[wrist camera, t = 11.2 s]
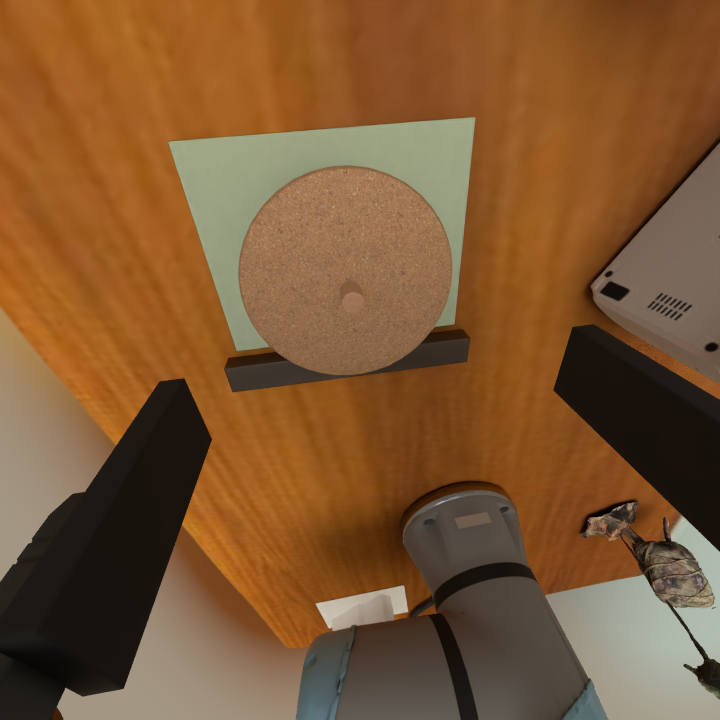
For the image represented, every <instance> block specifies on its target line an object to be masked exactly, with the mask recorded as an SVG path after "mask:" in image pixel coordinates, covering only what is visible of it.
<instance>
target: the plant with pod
mask: <svg viewBox="0 0 720 720" xmlns="http://www.w3.org/2000/svg"><path fill="white" fill-rule="evenodd" d="M638 504H639V502H633V503H631V504H630V503H628V504H626V505H623V506H621V507H620V506H619V507H618V508H617V507H616V508H615V509H613V510H612V511H611V513H609V514H605V515H603V516H602V517H594V518H593V517H591V518H590V519H589V520H588V521H587V522H590V523H588V524H587V525H588V528H587V529H586V531H587V532H585V534H584V535H582V537H584V538H586V537H588V536H591V535H599V536H603V537H606V538H607V540H608V541H611V540H612V541H613V540H616V539H617V538H620V537H621V538H622V536H624V535H626V537H627V538H628V540H629V541H630V543H631V545H632V547H633V550H634V552H633V551H632V549H631V548H630V547H629V546H628V544H627V543H626V542H625V541H624V540H623V538H622V540H623V542H624V543H625V544H626V546H627V547H628V549H629V550H630V551H631V552H632V554H633V556H634V557H635V559H636V560H637V562H638V565H639V567H640V569H641V571H642V572H643V574H644V575H645V577H646V578H647V580H648V582H649V584H650V586H651V587H652V589H653V591H654V592H655V594H656V596H657V597H658V598H659V599H660V600H661V601H662V602H664V603H666V604H668V606H669V607H670V608H671V610H672V611H673V613H674V614H675V615H676V617H677V618H678V620H679V621H680V623H681V624H682V625H683V626H684V628H685V629H686V631H687V632H688V634H689V636H690V638H691V640H692V641H693V642H694V644H695V646H696V648H697V649H698V651H699V652H700V654H701V655H702V657H703V659H704V664H702V665H701V666H697V667H698V668H697V669H695V668H692V667H691V666H689V665H687V664H684V667H685V668H687V669H689V670H690V671H691V672H692V673H694V674H695V675H696V676H697V677H698V681H699V682H700V683H701V685H702V686H704V687H705V689H706V690H708V691H709V692H711V693H713V694H714V695H715V696H716V697H717V698H718V699H720V663H718V662H716V661H715V660H714V659H709V658H708V656H707V654H706V653H705V651H704V649H703V648H702V647H701V646H700V645H699V643H698V642H697V641H696V640H695V639H694V638H693V636H692V634H691V633H690V631H689V629H688V627H687V626H686V624H685V623H684V621H683V620H682V619H681V617H680V616H679V615H678V613H677V612H676V611H675V609H674V608H673V606H674V607H676V608H677V607H681V608H682V607H696V608H697V607H699V608H708V607H710V606H712V605H713V604H714V599H715V597H714V595H713V593H712V589H711V587H710V585H709V583H708V580H707V579H706V578H705V576H704V575H703V573H702V569H701V568H700V567H699V565H698V562H697V561H696V559H695V558H694V556H693V554H692V553H691V552H690V551H689V550H688V549H686V548H685V547H684V546H682V545H680V544H677V543H676V542H673V541H672V542H671V536H670V533H669V530H668V520H667V518H666V517H664V519H663V525H664V528H663V530H664V535H665V540H666V541H659V542H655V541H649V542H645V541H644V540H643V539H642V538H641V537H639V536H638V535H637V534H636V533H635V532H634V531H633V530H632V529H631V528H630V527H631V523H632V522H635V518H636V517H635V511H636V509H637V507H636V506H637V505H638ZM634 553H635V555H634ZM714 608H716V607H713V608H712V609H714Z"/></svg>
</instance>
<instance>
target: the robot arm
mask: <svg viewBox="0 0 720 720" xmlns="http://www.w3.org/2000/svg"><path fill="white" fill-rule="evenodd" d="M554 391H555V392H556V393H557V394H558V395H559V396H560V397H561V398H562V399H563V400H564V401H565V402H566V403H567V404H568V405H569V406H570V407H571V408H572V409H573V410H574V411H575V412H576V413H577V414H578V415H579V416H580V417H582V418H583V419H584V420H585V421H586V422H587V423H588V424H589V425H590V426H591V427H592V428H593V429H594V430H595V431H596V432H597V433H598V434H599V435H600V436H601V437H602V438H603V439H604V440H605V441H606V442H607V443H608V444H609V445H610V446H611V447H612V448H613V449H614V450H616V451H617V452H618V453H619V454H620V455H621V456H622V457H623V458H624V459H625V460H626V461H627V462H628V463H629V464H630V465H631V466H632V467H633V468H634V469H635V470H636V471H637V472H638V473H639V474H640V475H641V476H642V477H643V478H644V479H645V480H646V481H647V482H648V483H649V484H651V485H652V486H653V487H654V488H655V489H656V490H657V491H658V492H659V493H660V494H661V495H662V496H663V497H664V498H665V499H666V500H667V501H668V502H669V503H670V504H671V505H672V506H673V507H674V508H675V509H676V510H677V511H678V512H679V513H680V514H681V515H682V516H683V517H685V518H686V519H687V520H688V521H689V522H690V523H691V524H692V525H693V526H694V527H695V528H696V529H697V530H698V531H699V532H700V533H701V534H702V535H703V536H704V537H705V538H706V539H707V540H708V541H709V542H710V543H711V544H712V545H713V546H714V547H716V549H718V550H719V551H720V399H717V398H716V397H714V396H712V395H711V394H709V393H707V392H706V391H704V390H702V389H701V388H699V387H697V386H696V385H694V384H692V383H691V382H689V381H687V380H686V379H684V378H682V377H681V376H679V375H677V374H676V373H674V372H672V371H671V370H669V369H667V368H666V367H664V366H662V365H660V364H659V363H657V362H655V361H654V360H652V359H650V358H649V357H647V356H645V355H644V354H642V353H640V352H639V351H637V350H635V349H634V348H632V347H630V346H629V345H627V344H625V343H624V342H622V341H620V340H619V339H617V338H615V337H614V336H612V335H610V334H609V333H607V332H605V331H604V330H602V329H600V328H599V327H597V326H595V325H594V324H593V325H585V326H578V327H572V331H571V334H570V337H569V341H568V344H567V347H566V350H565V354H564V357H563V360H562V363H561V367H560V370H559V373H558V377H557V380H556V383H555V386H554ZM211 441H212V438H211V436H210V434H209V432H208V430H207V427H206V425H205V423H204V421H203V419H202V416H201V414H200V412H199V410H198V407H197V405H196V403H195V401H194V399H193V396H192V394H191V392H190V390H189V388H188V385H187V383H186V381H185V379H184V378H183V379H175V380H168V381H160V382H159V383H158V385H157V386H156V388H155V389H154V391H153V392H152V394H151V395H150V397H149V398H148V400H147V401H146V403H145V404H144V406H143V407H142V408H141V410H140V411H139V413H138V414H137V416H136V417H135V419H134V420H133V422H132V423H131V425H130V426H129V428H128V429H127V431H126V432H125V434H124V435H123V437H122V438H121V440H120V441H119V443H118V444H117V445H116V447H115V448H114V450H113V451H112V453H111V454H110V456H109V457H108V459H107V460H106V462H105V463H104V465H103V466H102V468H101V469H100V471H99V472H98V474H97V475H96V477H95V478H94V479H93V481H92V483H91V484H90V485H89V487H88V488H87V490H86V491H85V492H82V493H76V494H72V495H71V496H70V497H69V498H68V499H66V501H64V502H63V503H62V504H61V505H60V506H59V507H58V508H57V509H56V510H54V511H53V512H52V513H51V514H50V515H49V516H48V518H47V519H46V520H45V522H44V523H43V524H42V526H41V527H40V528H39V530H38V531H37V533H36V534H35V535H34V537H33V538H32V543H29V544H28V545H27V546H26V548H25V549H24V550H23V552H22V553H21V554H20V556H19V557H18V558H17V560H18V561H17V563H16V564H13V565H12V567H11V568H10V569H9V571H8V572H7V574H6V575H5V576H4V578H3V579H2V580H1V582H0V720H63V717H62V715H61V713H60V711H59V710H58V708H56V707H57V705H58V703H59V700H60V698H61V696H62V694H63V692H64V690H65V688H67V689H69V690H71V691H73V692H75V693H77V694H79V695H81V696H88V695H93V694H99V693H104V692H109V691H115V690H120V689H124V686H125V683H126V681H127V678H128V675H129V672H130V669H131V667H132V664H133V661H134V658H135V655H136V652H137V649H138V647H139V644H140V641H141V638H142V636H143V633H144V630H145V627H146V624H147V621H148V619H149V615H150V613H151V610H152V607H153V604H154V602H155V599H156V596H157V593H158V590H159V587H160V585H161V582H162V579H163V576H164V573H165V570H166V568H167V565H168V562H169V559H170V556H171V554H172V551H173V548H174V545H175V542H176V539H177V537H178V534H179V531H180V528H181V525H182V522H183V520H184V517H185V514H186V511H187V508H188V506H189V503H190V500H191V497H192V494H193V491H194V489H195V486H196V483H197V480H198V477H199V474H200V472H201V469H202V466H203V463H204V460H205V457H206V455H207V452H208V449H209V446H210V443H211ZM400 529H401V534H402V538H403V543H404V546H405V548H406V550H407V552H408V553H409V555H410V557H411V559H412V560H413V562H414V564H415V565H416V567H417V569H418V571H419V572H420V574H421V576H422V577H423V579H424V581H425V583H426V584H427V586H428V588H429V589H430V591H431V594H432V597H433V598H432V599H430V600H429V601H427V602H426V603H424V604H423V605H421V606H420V607H419V608H417V609H416V610H415V611H414V612H413V613H412V614H411V616H410V618H404V619H398V620H392V621H385V622H379V623H372V624H366V625H360V626H356V624H355V625H351V627H350V628H345V629H341V630H336V631H332V632H327V633H323V634H321V635H319V636H318V637H316V638H315V639H314V641H313V642H312V643H311V645H310V647H309V649H308V651H307V655H306V658H305V662H304V666H303V671H302V677H301V683H300V690H299V697H298V705H297V714H296V720H608V718H607V716H606V713H605V711H604V709H603V707H602V705H601V703H600V700H599V698H598V696H597V694H596V692H595V690H594V685H593V682H592V681H591V679H590V678H588V677H587V675H586V673H585V671H584V669H583V667H582V665H581V663H580V662H579V660H578V658H577V656H576V654H575V652H574V650H573V648H572V646H571V644H570V643H569V641H568V639H567V637H566V635H565V633H564V631H563V629H562V627H561V625H560V624H559V622H558V620H557V618H556V616H555V614H554V612H553V610H552V609H551V607H550V605H549V603H548V601H547V599H546V597H545V595H544V593H543V591H542V590H541V588H540V586H539V584H538V582H537V580H536V578H535V576H534V575H533V573H532V571H531V569H530V567H529V565H528V562H527V558H526V554H525V549H524V544H523V539H522V535H521V530H520V525H519V520H518V516H517V511H516V509H515V507H514V505H513V503H512V501H511V500H510V498H509V496H508V494H507V493H506V492H505V491H504V490H503V489H501V488H499V487H497V486H495V485H492V484H488V483H479V482H470V483H461V484H456V485H451V486H448V487H444V488H442V489H439V490H436V491H434V492H432V493H430V494H428V495H426V496H425V497H423V498H421V499H420V500H419V501H417V502H416V503H415V504H413V505H412V506H411V507H410V508H409V510H408V511H407V512H406V513H405V515H404V517H403V518H402V521H401V526H400ZM433 604H435V608H436V612H437V614H431V615H424V616H417V615H419V614H420V613H421V612H423V611H424V610H426V609H427V608H429V607H430V606H432V605H433Z"/></svg>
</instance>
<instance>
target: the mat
mask: <svg viewBox="0 0 720 720" xmlns="http://www.w3.org/2000/svg"><path fill="white" fill-rule="evenodd" d="M474 125H475V117H470V118H457V119H445V120H432V121H420V122H407V123H395V124H382V125H370V126H357V127H345V128H332V129H320V130H307V131H295V132H282V133H269V134H257V135H244V136H232V137H219V138H207V139H194V140H182V141H169V142H168V143H169V146H170V149H171V152H172V155H173V158H174V161H175V164H176V168H177V171H178V174H179V177H180V180H181V183H182V186H183V189H184V192H185V195H186V198H187V201H188V204H189V207H190V210H191V213H192V216H193V219H194V222H195V225H196V228H197V232H198V235H199V238H200V241H201V244H202V247H203V250H204V253H205V256H206V259H207V262H208V265H209V268H210V271H211V274H212V277H213V280H214V283H215V286H216V289H217V293H218V296H219V299H220V302H221V305H222V308H223V311H224V314H225V317H226V320H227V323H228V326H229V329H230V332H231V335H232V338H233V341H234V344H235V347H236V350H237V351H242V350H250V349H258V348H267V347H270V346H269V345H268V344H267V343H266V342H265V340H264V339H263V338H262V337H261V336H260V335H259V334H258V332H257V330H256V329H255V327H254V326H253V324H252V323H251V321H250V319H249V317H248V314H247V312H246V310H245V308H244V305H243V301H242V297H241V293H240V288H239V277H238V270H239V257H240V252H241V249H242V245H243V241H244V238H245V235H246V233H247V231H248V229H249V226H250V224H251V222H252V220H253V219H254V218H255V216H256V215H257V213H258V212H259V210H260V209H261V207H262V206H263V205H264V204H265V202H266V201H267V200H268V199H269V198H270V197H271V196H272V195H273V194H274V193H275V192H276V191H277V190H279V189H280V188H282V187H283V186H285V185H286V184H287V183H289V182H290V181H292V180H293V179H295V178H297V177H299V176H302V175H304V174H306V173H308V172H310V171H314V170H318V169H322V168H326V167H330V166H345V165H352V166H360V167H368V168H372V169H375V170H378V171H382V172H385V173H388V174H390V175H392V176H394V177H396V178H398V179H400V180H401V181H403V182H405V183H407V184H408V185H409V186H411V187H412V188H413V189H414V190H416V191H417V192H418V193H419V194H421V195H422V197H423V198H424V199H425V200H426V201H427V202H428V203H429V204H430V206H431V207H432V208H433V209H434V211H435V213H436V214H437V216H438V217H439V219H440V221H441V222H442V225H443V227H444V230H445V232H446V235H447V237H448V240H449V245H450V250H451V254H452V280H451V288H450V292H449V296H448V299H447V303H446V305H445V307H444V310H443V312H442V314H441V317H440V318H439V320H438V321H437V323H436V325H435V326H434V327H438V326H446V325H454V324H455V314H456V304H457V294H458V284H459V274H460V264H461V254H462V244H463V234H464V225H465V215H466V205H467V195H468V185H469V175H470V165H471V155H472V145H473V135H474Z"/></svg>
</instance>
